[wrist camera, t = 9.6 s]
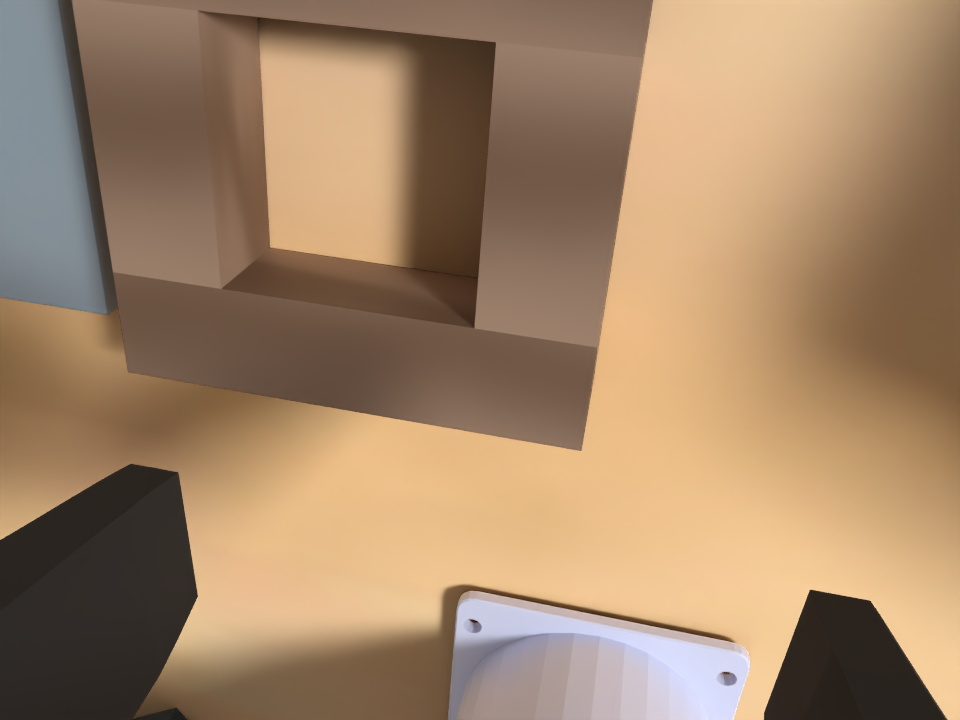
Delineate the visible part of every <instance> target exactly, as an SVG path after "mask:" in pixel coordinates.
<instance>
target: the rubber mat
mask: <svg viewBox="0 0 960 720" xmlns="http://www.w3.org/2000/svg"><path fill="white" fill-rule="evenodd" d="M0 297H1V298H7V299H13V300H19V301H25V302H31V303H37V304H43V305H50V306H56V307H62V308H68V309H74V310H80V311H86V312H92V313H98V314H105V315H108V314H110V313H111V312H112V311H114V310H115V309H117V308H118V302H117V295H116V289H115V282H114V276H113V269H112V262H111V256H110V249H109V242H108V236H107V229H106V223H105V216H104V209H103V203H102V196H101V190H100V183H99V176H98V170H97V163H96V156H95V150H94V143H93V137H92V130H91V123H90V117H89V110H88V104H87V97H86V90H85V84H84V77H83V70H82V64H81V57H80V51H79V44H78V37H77V31H76V24H75V18H74V11H73V4H72V0H0Z"/></svg>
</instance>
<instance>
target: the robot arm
mask: <svg viewBox="0 0 960 720" xmlns="http://www.w3.org/2000/svg"><path fill="white" fill-rule="evenodd" d="M197 597H198V595H197V588H196V582H195V575H194V569H193V563H192V556H191V550H190V544H189V537H188V531H187V524H186V518H185V512H184V505H183V499H182V493H181V486H180V480H179V474H178V472H173V471H167V470H162V469H157V468H151V467H146V466H140V465H135V464H129V465H128V466H126V467H124V468H122V469H120V470H118V471H117V472H115V473H113V474H111V475H109V476H108V477H106V478H104V479H102V480H101V481H99V482H97V483H96V484H94V485H92V486H90V487H89V488H87V489H85V490H84V491H82V492H80V493H79V494H77V495H75V496H74V497H72V498H70V499H69V500H67V501H65V502H64V503H62V504H60V505H59V506H57V507H55V508H54V509H52V510H50V511H49V512H47V513H45V514H44V515H42V516H40V517H39V518H37V519H35V520H34V521H32V522H30V523H29V524H27V525H25V526H24V527H22V528H20V529H18V530H17V531H15V532H13V533H12V534H10V535H8V536H7V537H5V538H3V539H1V540H0V720H132V718H133V717H134V715H135V713H136V712H137V710H138V709H139V707H140V706H141V704H142V702H143V701H144V699H145V698H146V696H147V695H148V693H149V691H150V690H151V688H152V687H153V685H154V683H155V682H156V680H157V679H158V677H159V675H160V673H161V672H162V670H163V668H164V666H165V664H166V662H167V660H168V658H169V656H170V654H171V652H172V650H173V648H174V646H175V644H176V642H177V640H178V638H179V635H180V633H181V631H182V629H183V627H184V625H185V623H186V620H187V618H188V616H189V614H190V612H191V610H192V608H193V605H194V603H195V601H196V599H197ZM469 619H474V620H476V621H478V622H479V623H474V622H472V621H470V620H469ZM749 670H750V658H749V653H748V651H747V649H745V648H744V647H743V646H742V645H739V644H737V643H734V642H729V641H724V640H719V639H714V638H709V637H704V636H699V635H694V634H689V633H684V632H679V631H674V630H669V629H664V628H659V627H654V626H649V625H644V624H639V623H634V622H629V621H624V620H619V619H614V618H609V617H604V616H599V615H594V614H589V613H584V612H579V611H574V610H569V609H564V608H559V607H554V606H549V605H544V604H539V603H534V602H529V601H524V600H519V599H514V598H509V597H504V596H499V595H494V594H489V593H484V592H479V591H468V592H465V593H464V594H462V595H461V596H460V599H459V602H458V605H457V609H456V621H455V634H454V647H453V660H452V673H451V685H450V698H449V711H448V720H733V719H734V716H735V713H736V710H737V707H738V704H739V700H740V697H741V694H742V691H743V688H744V685H745V682H746V679H747V676H748V673H749ZM722 672H730V673H731V674H722ZM764 720H947V719H946V717H945V715H944V714H943V712H942V711H941V709H940V708H939V706H938V705H937V703H936V702H935V700H934V699H933V697H932V696H931V694H930V692H929V691H928V689H927V688H926V686H925V685H924V683H923V682H922V680H921V679H920V677H919V675H918V674H917V672H916V671H915V669H914V668H913V666H912V664H911V663H910V661H909V660H908V658H907V657H906V655H905V653H904V652H903V650H902V649H901V647H900V646H899V644H898V642H897V641H896V639H895V638H894V636H893V635H892V633H891V631H890V630H889V628H888V627H887V625H886V624H885V622H884V620H883V619H882V617H881V616H880V614H879V613H878V611H877V610H876V608H875V607H874V606H873V604H872V603H871V601H868V600H863V599H858V598H852V597H847V596H842V595H836V594H831V593H825V592H820V591H815V590H810V591H809V594H808V597H807V599H806V602H805V605H804V607H803V610H802V613H801V615H800V618H799V621H798V623H797V626H796V629H795V632H794V634H793V637H792V640H791V642H790V645H789V648H788V650H787V653H786V656H785V658H784V661H783V664H782V666H781V669H780V672H779V674H778V677H777V680H776V683H775V685H774V688H773V691H772V693H771V696H770V699H769V701H768V704H767V707H766V709H765V712H764Z"/></svg>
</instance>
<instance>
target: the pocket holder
mask: <svg viewBox="0 0 960 720" xmlns="http://www.w3.org/2000/svg"><path fill="white" fill-rule="evenodd" d="M652 3H653V0H72V4H73V11H74V18H75V24H76V31H77V37H78V44H79V51H80V57H81V64H82V70H83V77H84V84H85V90H86V97H87V104H88V110H89V117H90V123H91V130H92V137H93V143H94V150H95V156H96V163H97V170H98V176H99V183H100V190H101V196H102V203H103V209H104V216H105V223H106V229H107V236H108V242H109V249H110V256H111V262H112V269H113V276H114V282H115V289H116V295H117V302H118V309H119V315H120V322H121V328H122V335H123V342H124V348H125V355H126V361H127V368H128V372H130V373H135V374H141V375H147V376H153V377H158V378H164V379H170V380H176V381H181V382H187V383H193V384H199V385H204V386H210V387H216V388H222V389H228V390H233V391H239V392H245V393H251V394H256V395H262V396H268V397H274V398H279V399H285V400H291V401H297V402H302V403H308V404H314V405H320V406H325V407H331V408H337V409H343V410H349V411H354V412H360V413H366V414H372V415H377V416H383V417H389V418H395V419H400V420H406V421H412V422H418V423H423V424H429V425H435V426H441V427H446V428H452V429H458V430H464V431H470V432H475V433H481V434H487V435H493V436H498V437H504V438H510V439H516V440H521V441H527V442H533V443H539V444H544V445H550V446H556V447H562V448H567V449H573V450H579V451H581V450H582V444H583V438H584V432H585V426H586V421H587V415H588V409H589V403H590V397H591V392H592V385H593V379H594V372H595V366H596V360H597V353H598V347H599V341H600V334H601V328H602V322H603V315H604V309H605V302H606V296H607V290H608V283H609V277H610V271H611V264H612V258H613V252H614V245H615V239H616V232H617V226H618V220H619V213H620V207H621V201H622V194H623V188H624V182H625V175H626V169H627V162H628V156H629V150H630V143H631V137H632V131H633V124H634V118H635V112H636V105H637V99H638V93H639V86H640V80H641V73H642V67H643V61H644V54H645V48H646V42H647V35H648V29H649V23H650V16H651V10H652ZM258 17H263V18H272V19H282V20H291V21H301V22H310V23H319V24H329V25H338V26H348V27H357V28H366V29H376V30H385V31H395V32H404V33H414V34H423V35H432V36H442V37H451V38H461V39H470V40H479V41H489V42H496V50H495V63H494V77H493V90H492V103H491V116H490V130H489V143H488V156H487V169H486V183H485V196H484V209H483V222H482V235H481V249H480V262H479V275H478V278H471V277H464V276H458V275H451V274H444V273H437V272H430V271H424V270H417V269H410V268H403V267H396V266H390V265H383V264H376V263H369V262H362V261H356V260H349V259H342V258H335V257H328V256H322V255H315V254H308V253H301V252H294V251H288V250H281V249H274V248H270V240H269V221H268V202H267V183H266V164H265V146H264V127H263V108H262V89H261V70H260V51H259V33H258Z"/></svg>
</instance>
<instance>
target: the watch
mask: <svg viewBox="0 0 960 720" xmlns="http://www.w3.org/2000/svg"><path fill="white" fill-rule="evenodd" d="M132 720H186V719H185V717H184V716H183V715H182V714H181V713H180V712H179V710H178V709H177V708H175V709H171V710H167V711H163V712H159V713H155V714H151V715H148V716H144V717H140V718H136V719H132Z"/></svg>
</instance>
